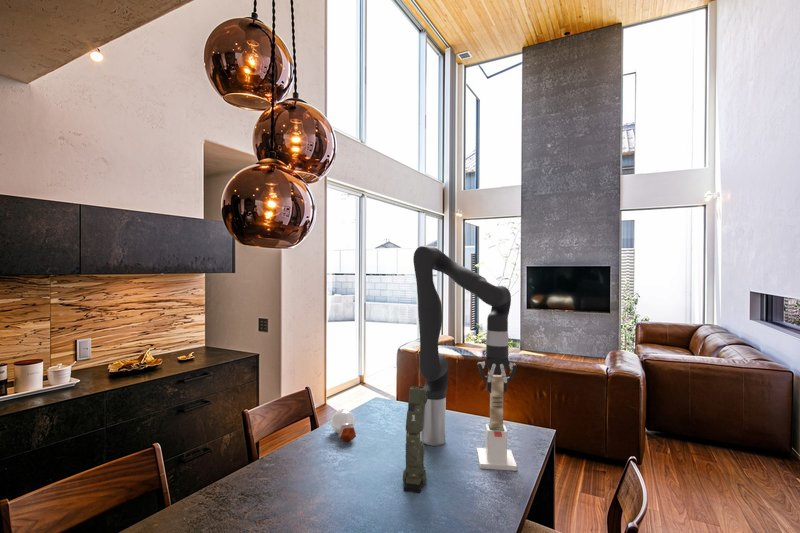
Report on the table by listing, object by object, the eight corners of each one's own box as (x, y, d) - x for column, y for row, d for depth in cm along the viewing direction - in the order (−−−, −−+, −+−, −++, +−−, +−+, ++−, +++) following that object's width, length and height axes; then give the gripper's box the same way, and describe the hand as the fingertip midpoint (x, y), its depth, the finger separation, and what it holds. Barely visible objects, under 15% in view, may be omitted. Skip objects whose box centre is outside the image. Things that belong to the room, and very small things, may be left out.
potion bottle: (343, 430, 164) (350, 450, 150) (324, 420, 161) (330, 439, 147) (356, 412, 165) (365, 430, 151) (338, 401, 162) (345, 418, 148)
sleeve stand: (479, 468, 132) (480, 433, 132) (476, 451, 144) (477, 420, 144) (516, 470, 131) (517, 435, 131) (510, 453, 142) (510, 421, 143)
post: (490, 440, 135) (491, 377, 135) (489, 435, 140) (490, 374, 140) (503, 441, 135) (504, 378, 135) (501, 436, 139) (502, 375, 139)
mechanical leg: (421, 497, 113) (426, 388, 120) (397, 494, 114) (403, 386, 122) (427, 484, 126) (431, 386, 133) (405, 481, 127) (410, 384, 135)
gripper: (477, 344, 135) (476, 395, 134) (520, 346, 133) (519, 397, 133) (475, 340, 142) (475, 388, 142) (516, 342, 140) (515, 390, 140)
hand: (496, 392), depth 137 cm, fingers closed on post, 4 cm apart
